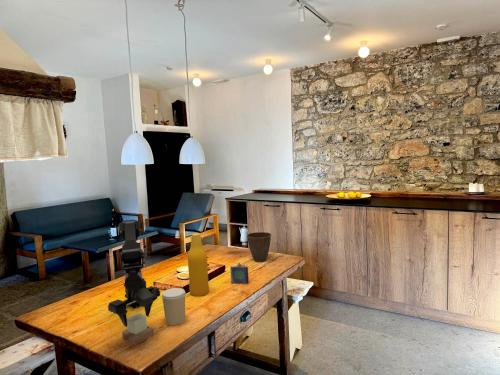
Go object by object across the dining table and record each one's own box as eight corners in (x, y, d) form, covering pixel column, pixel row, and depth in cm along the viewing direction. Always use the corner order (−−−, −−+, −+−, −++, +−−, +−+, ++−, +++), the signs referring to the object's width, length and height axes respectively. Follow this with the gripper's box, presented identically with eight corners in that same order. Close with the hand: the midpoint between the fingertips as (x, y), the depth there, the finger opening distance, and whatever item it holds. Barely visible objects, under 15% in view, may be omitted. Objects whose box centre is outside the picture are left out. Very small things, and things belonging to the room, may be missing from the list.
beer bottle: (210, 294, 164) (207, 235, 161) (191, 297, 161) (187, 237, 158) (207, 287, 173) (203, 231, 170) (188, 290, 170) (184, 233, 167)
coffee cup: (177, 313, 147) (175, 285, 145) (191, 319, 141) (190, 290, 139) (158, 321, 139) (156, 293, 138) (173, 328, 134) (171, 299, 132)
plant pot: (242, 261, 211) (241, 236, 209) (257, 255, 223) (256, 231, 221) (262, 265, 202) (261, 239, 200) (276, 258, 214) (275, 233, 212)
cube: (127, 331, 128) (126, 318, 128) (139, 325, 132) (137, 312, 132) (135, 334, 125) (134, 321, 125) (147, 328, 129) (146, 316, 129)
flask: (230, 283, 177) (229, 263, 176) (231, 281, 180) (231, 261, 178) (248, 284, 175) (247, 263, 174) (249, 282, 178) (248, 262, 177)
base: (122, 339, 128) (122, 331, 128) (141, 329, 135) (140, 322, 134) (135, 346, 123) (134, 338, 123) (153, 336, 130) (153, 328, 129)
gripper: (123, 294, 114) (126, 339, 116) (168, 277, 129) (170, 316, 131) (105, 287, 121) (109, 329, 123) (150, 271, 136) (152, 309, 137)
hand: (137, 321), depth 128 cm, fingers open, 9 cm apart
